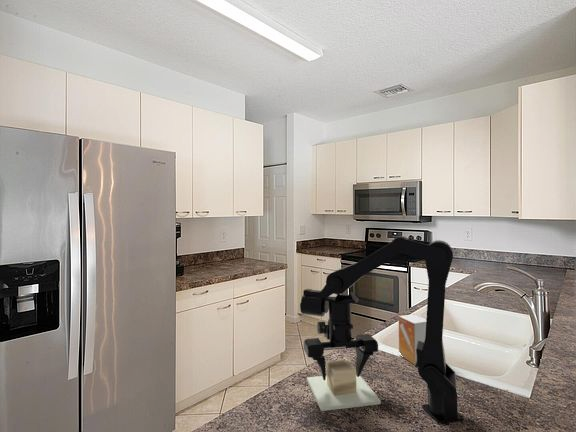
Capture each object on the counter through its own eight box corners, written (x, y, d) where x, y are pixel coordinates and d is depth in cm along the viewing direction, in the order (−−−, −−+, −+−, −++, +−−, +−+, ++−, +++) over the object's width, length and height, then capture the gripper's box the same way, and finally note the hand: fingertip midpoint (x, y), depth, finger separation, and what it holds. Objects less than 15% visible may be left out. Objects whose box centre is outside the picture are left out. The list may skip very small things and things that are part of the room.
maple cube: (356, 392, 83) (356, 369, 83) (333, 395, 82) (333, 371, 82) (348, 381, 89) (347, 359, 89) (326, 383, 88) (326, 361, 88)
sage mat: (380, 404, 80) (380, 400, 80) (321, 411, 77) (321, 407, 77) (357, 375, 94) (357, 372, 94) (306, 380, 92) (306, 377, 92)
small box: (398, 355, 108) (397, 315, 108) (414, 352, 109) (414, 313, 110) (415, 365, 100) (414, 323, 100) (432, 362, 102) (431, 320, 102)
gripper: (361, 307, 95) (362, 361, 95) (298, 312, 92) (299, 367, 92) (378, 319, 84) (379, 380, 84) (308, 324, 81) (309, 387, 81)
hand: (341, 377), depth 86 cm, fingers open, 9 cm apart
